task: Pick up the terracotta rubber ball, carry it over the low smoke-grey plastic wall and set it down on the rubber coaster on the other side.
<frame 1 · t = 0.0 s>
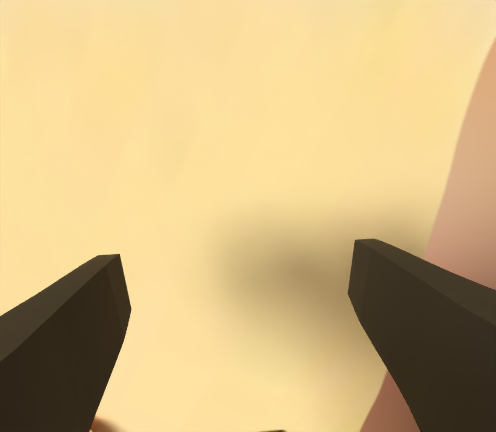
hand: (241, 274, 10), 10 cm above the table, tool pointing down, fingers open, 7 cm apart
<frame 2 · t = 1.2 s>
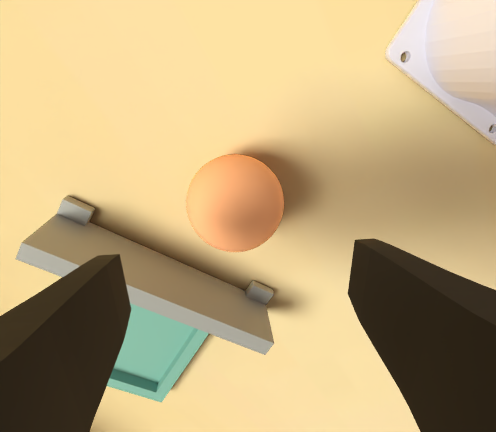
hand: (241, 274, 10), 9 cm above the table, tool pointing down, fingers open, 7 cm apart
ball: (233, 188, 18), on the table
wall: (169, 264, 20), on the table
coaster: (132, 329, 22), on the table
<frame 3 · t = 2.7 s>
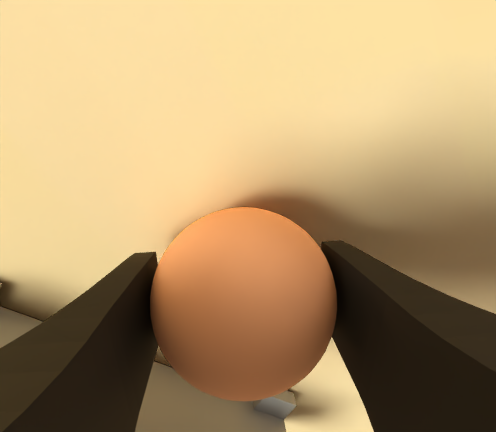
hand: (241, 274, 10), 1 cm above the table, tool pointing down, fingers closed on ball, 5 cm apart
ball: (238, 251, 11), on the table, touching gripper
wall: (133, 363, 13), on the table
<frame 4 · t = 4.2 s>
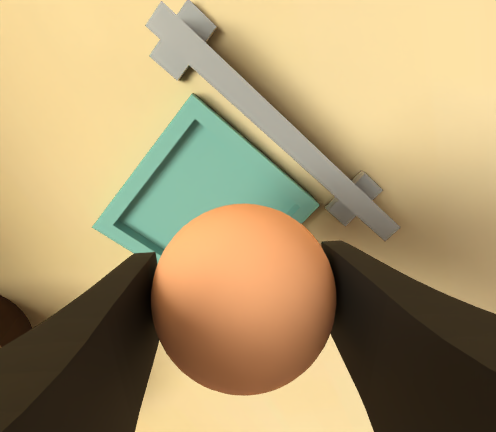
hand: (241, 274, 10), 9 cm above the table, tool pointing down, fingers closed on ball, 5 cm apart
ball: (236, 248, 11), point 8 cm above the table, touching gripper
wall: (277, 129, 17), on the table
coaster: (208, 208, 18), on the table
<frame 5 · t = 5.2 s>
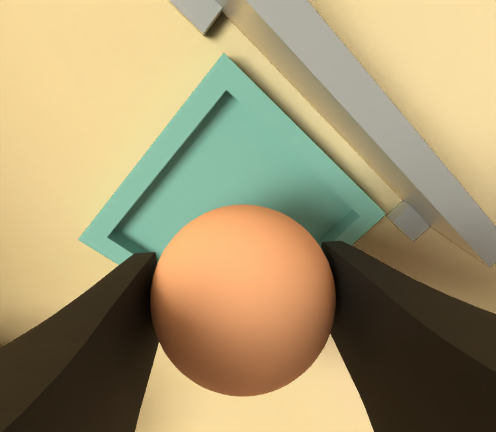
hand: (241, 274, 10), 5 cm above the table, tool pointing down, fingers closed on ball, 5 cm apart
ball: (236, 249, 11), point 3 cm above the table, touching gripper
wall: (334, 109, 12), on the table
coaster: (235, 215, 14), on the table
when the fingers open (3 cm above the table, at t = 6.0 s): ball drops 1 cm, resting on coaster.
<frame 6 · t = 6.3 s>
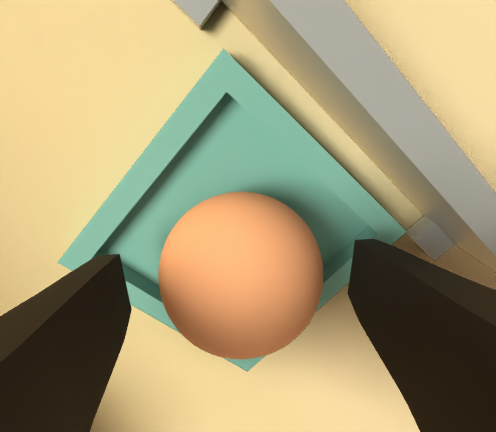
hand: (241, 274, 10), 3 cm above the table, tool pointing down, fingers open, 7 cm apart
ball: (235, 235, 12), resting on coaster
wall: (349, 114, 11), on the table
coaster: (236, 233, 12), on the table
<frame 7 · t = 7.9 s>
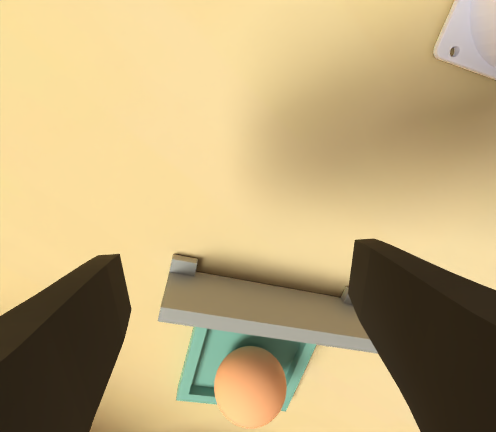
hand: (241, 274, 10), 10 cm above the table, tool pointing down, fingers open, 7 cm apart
ball: (245, 356, 24), resting on coaster
wall: (268, 290, 22), on the table
coaster: (246, 353, 24), on the table
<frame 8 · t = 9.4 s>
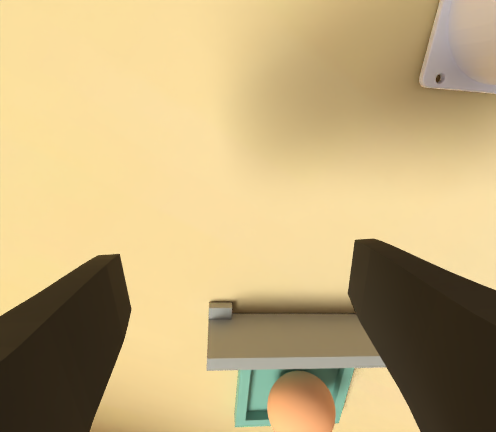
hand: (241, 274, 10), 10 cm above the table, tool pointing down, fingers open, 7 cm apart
ball: (291, 379, 26), resting on coaster
wall: (302, 318, 23), on the table
coaster: (291, 376, 26), on the table
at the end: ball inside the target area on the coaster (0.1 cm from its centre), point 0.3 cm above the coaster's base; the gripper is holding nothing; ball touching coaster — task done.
